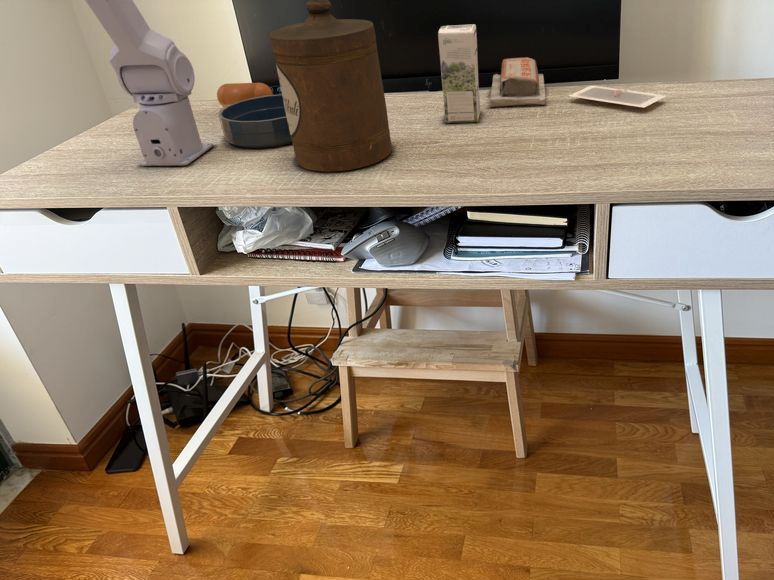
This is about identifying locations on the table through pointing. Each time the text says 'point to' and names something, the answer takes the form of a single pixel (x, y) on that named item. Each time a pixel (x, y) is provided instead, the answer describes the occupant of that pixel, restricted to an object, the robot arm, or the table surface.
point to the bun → (241, 92)
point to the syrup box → (459, 73)
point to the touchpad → (618, 96)
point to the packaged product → (518, 84)
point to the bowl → (256, 122)
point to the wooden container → (332, 91)
